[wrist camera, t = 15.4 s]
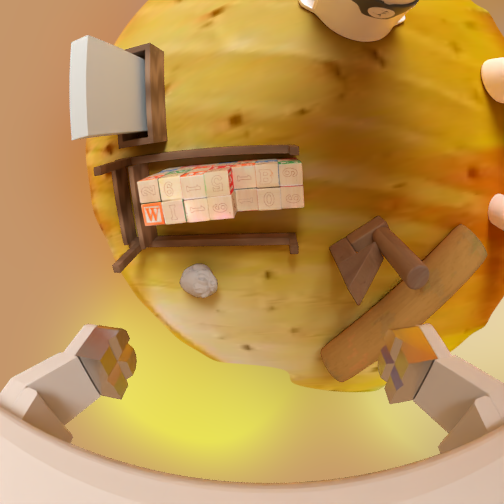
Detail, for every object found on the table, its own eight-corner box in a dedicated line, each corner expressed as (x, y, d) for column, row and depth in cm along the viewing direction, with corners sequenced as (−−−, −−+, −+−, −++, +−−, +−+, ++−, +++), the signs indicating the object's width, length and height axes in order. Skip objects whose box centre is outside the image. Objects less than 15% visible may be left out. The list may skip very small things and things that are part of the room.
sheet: (141, 67, 37) (71, 42, 19) (154, 64, 37) (88, 34, 19) (144, 132, 42) (71, 140, 24) (157, 130, 42) (88, 135, 23)
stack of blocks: (296, 156, 43) (306, 165, 31) (298, 194, 45) (307, 216, 34) (166, 168, 44) (135, 181, 33) (172, 203, 47) (143, 227, 36)
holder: (131, 59, 36) (115, 52, 31) (163, 51, 36) (150, 42, 30) (135, 145, 43) (118, 148, 37) (167, 141, 42) (153, 142, 37)
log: (450, 215, 44) (480, 233, 35) (468, 245, 47) (494, 266, 37) (316, 339, 58) (322, 373, 48) (342, 358, 60) (350, 390, 51)
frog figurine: (224, 284, 53) (218, 305, 46) (189, 285, 53) (179, 306, 47) (219, 254, 50) (212, 273, 44) (182, 257, 51) (171, 275, 45)
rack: (121, 158, 44) (82, 169, 33) (294, 144, 42) (304, 149, 31) (134, 242, 50) (103, 272, 39) (295, 239, 48) (302, 272, 37)
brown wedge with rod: (328, 246, 48) (354, 305, 32) (378, 214, 45) (427, 258, 29) (337, 262, 50) (365, 323, 33) (386, 230, 47) (434, 279, 30)
